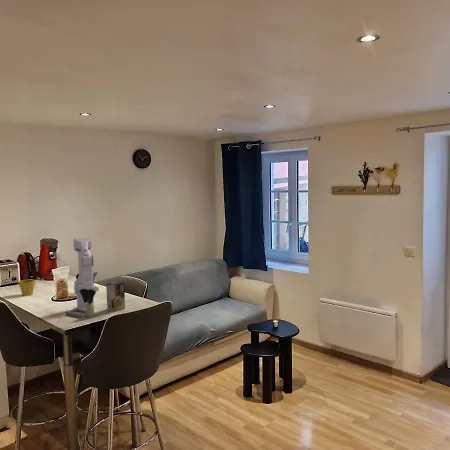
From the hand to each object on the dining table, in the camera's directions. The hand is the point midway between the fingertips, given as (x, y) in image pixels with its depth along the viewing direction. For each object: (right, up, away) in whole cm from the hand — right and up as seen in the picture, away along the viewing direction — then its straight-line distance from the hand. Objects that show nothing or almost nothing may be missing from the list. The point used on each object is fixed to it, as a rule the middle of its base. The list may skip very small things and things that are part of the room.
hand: (88, 302), depth 237 cm
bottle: (-2, -10, +10) cm, 14 cm away
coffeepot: (-21, -6, +65) cm, 68 cm away
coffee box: (+8, -9, +27) cm, 30 cm away
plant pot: (-63, -6, +66) cm, 91 cm away
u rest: (-10, -10, +14) cm, 20 cm away
